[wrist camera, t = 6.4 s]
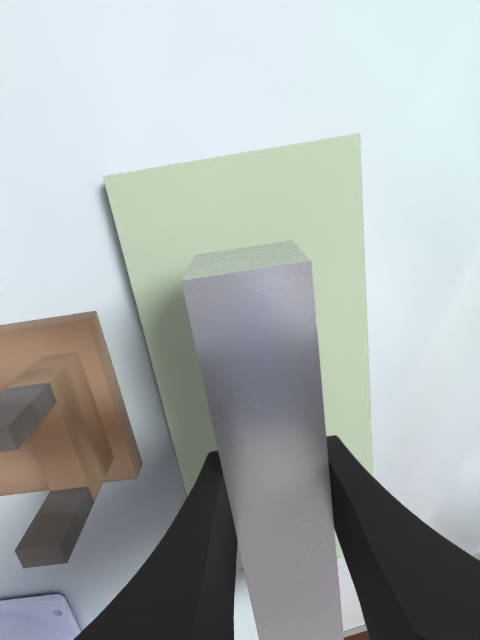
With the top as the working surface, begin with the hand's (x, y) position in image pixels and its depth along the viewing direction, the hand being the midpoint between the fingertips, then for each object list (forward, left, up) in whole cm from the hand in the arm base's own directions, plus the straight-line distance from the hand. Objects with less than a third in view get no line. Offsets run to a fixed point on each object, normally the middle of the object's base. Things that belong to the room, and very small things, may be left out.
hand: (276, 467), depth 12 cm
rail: (-1, 0, -2) cm, 2 cm away
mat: (0, 0, -5) cm, 5 cm away
